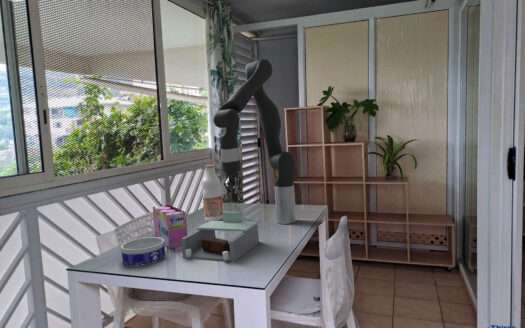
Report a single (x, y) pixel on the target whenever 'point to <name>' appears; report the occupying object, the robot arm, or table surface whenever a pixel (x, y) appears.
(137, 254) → the dog bowl
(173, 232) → the gum box
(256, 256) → the table surface
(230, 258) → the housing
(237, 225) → the cover
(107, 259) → the table surface
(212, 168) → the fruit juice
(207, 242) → the brick
